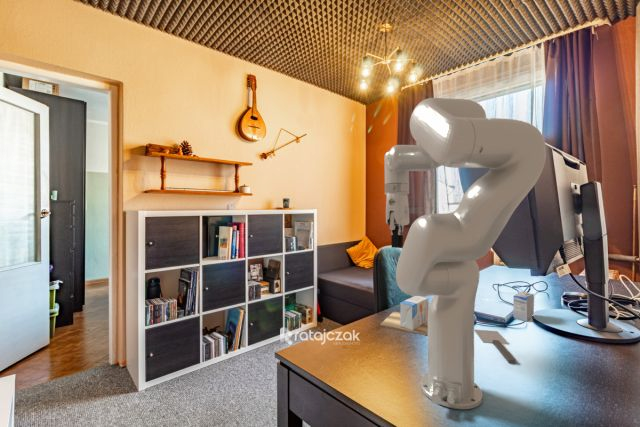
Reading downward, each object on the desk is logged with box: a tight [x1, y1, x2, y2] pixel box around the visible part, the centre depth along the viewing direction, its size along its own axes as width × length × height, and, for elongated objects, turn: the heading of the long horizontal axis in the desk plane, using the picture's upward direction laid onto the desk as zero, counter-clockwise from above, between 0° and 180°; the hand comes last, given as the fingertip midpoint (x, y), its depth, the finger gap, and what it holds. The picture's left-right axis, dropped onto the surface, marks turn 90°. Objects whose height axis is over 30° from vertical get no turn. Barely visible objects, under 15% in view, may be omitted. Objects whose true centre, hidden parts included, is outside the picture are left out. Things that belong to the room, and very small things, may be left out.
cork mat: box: [379, 311, 428, 337], centre depth 106 cm, size 15×16×1 cm
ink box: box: [399, 296, 430, 330], centre depth 105 cm, size 8×5×15 cm
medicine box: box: [512, 291, 535, 322], centre depth 110 cm, size 8×4×9 cm, turn 130°
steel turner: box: [474, 329, 517, 365], centre depth 88 cm, size 21×7×1 cm, turn 168°
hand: (397, 247), depth 95 cm, fingers closed
